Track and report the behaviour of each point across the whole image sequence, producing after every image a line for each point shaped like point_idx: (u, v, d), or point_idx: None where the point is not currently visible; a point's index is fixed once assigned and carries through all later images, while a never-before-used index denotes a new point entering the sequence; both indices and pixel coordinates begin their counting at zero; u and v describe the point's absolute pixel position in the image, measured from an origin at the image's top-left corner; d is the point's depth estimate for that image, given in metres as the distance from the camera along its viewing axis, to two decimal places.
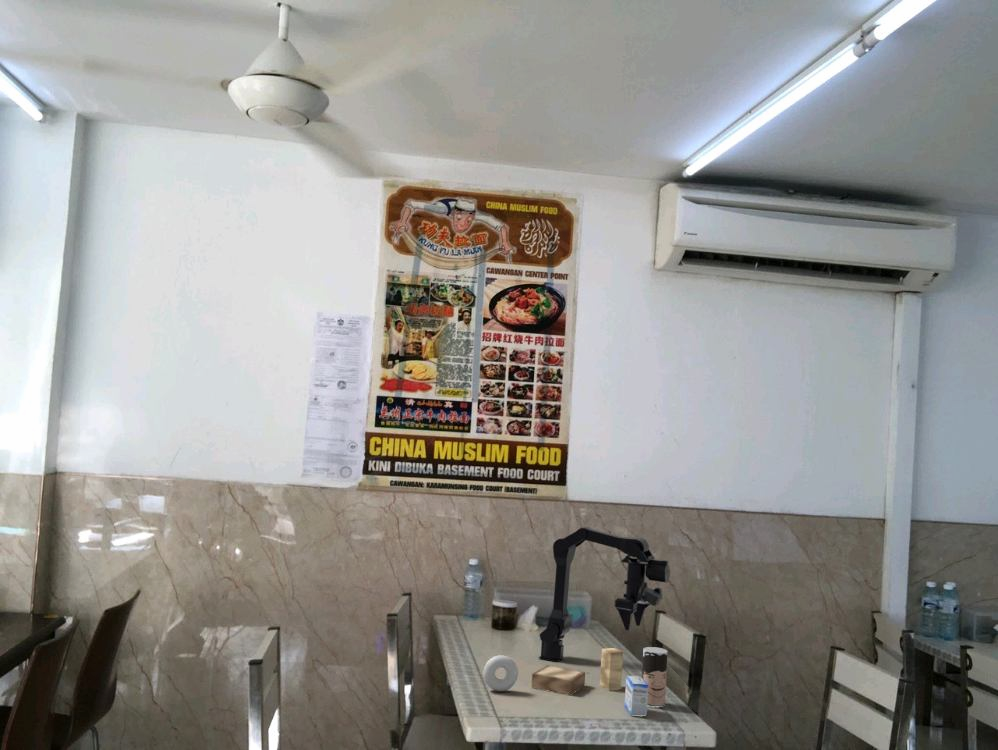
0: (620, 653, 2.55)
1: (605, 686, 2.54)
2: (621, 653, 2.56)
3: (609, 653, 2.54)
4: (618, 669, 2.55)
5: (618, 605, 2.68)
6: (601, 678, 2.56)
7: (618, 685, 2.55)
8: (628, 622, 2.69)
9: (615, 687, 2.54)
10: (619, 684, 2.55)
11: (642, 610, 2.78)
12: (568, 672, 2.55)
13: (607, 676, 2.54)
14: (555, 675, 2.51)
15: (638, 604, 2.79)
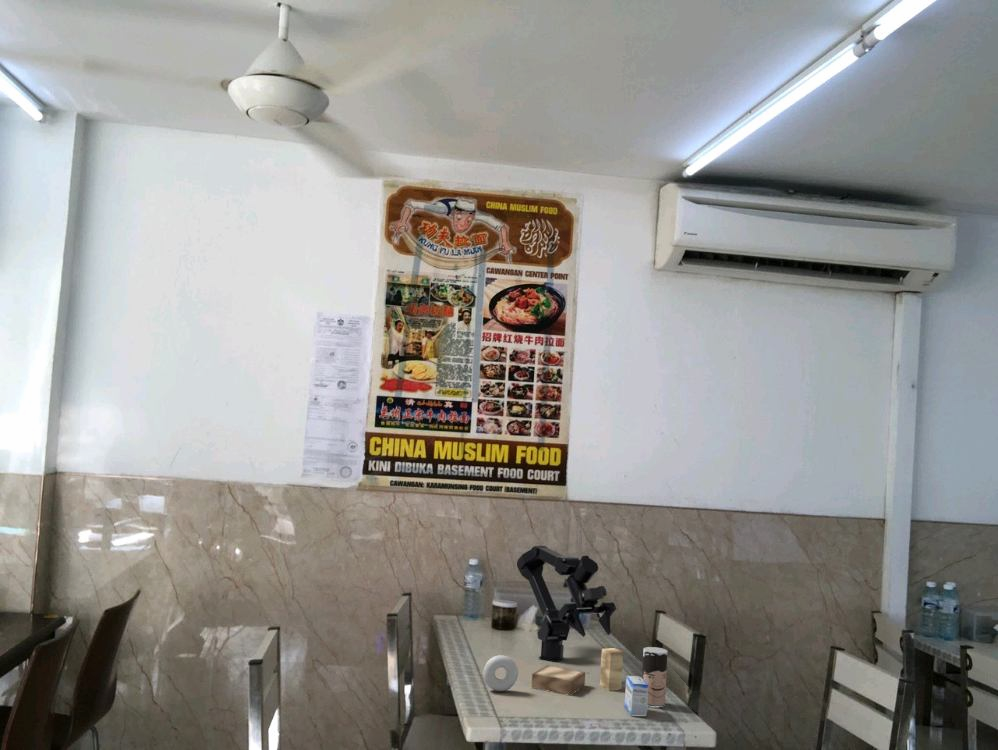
0: (620, 653, 2.55)
1: (605, 686, 2.54)
2: (621, 653, 2.56)
3: (609, 653, 2.54)
4: (618, 669, 2.55)
5: (560, 616, 2.66)
6: (601, 678, 2.56)
7: (618, 685, 2.55)
8: (579, 627, 2.63)
9: (615, 687, 2.54)
10: (619, 684, 2.55)
11: (605, 618, 2.69)
12: (568, 672, 2.55)
13: (607, 676, 2.54)
14: (555, 675, 2.51)
15: (602, 616, 2.72)
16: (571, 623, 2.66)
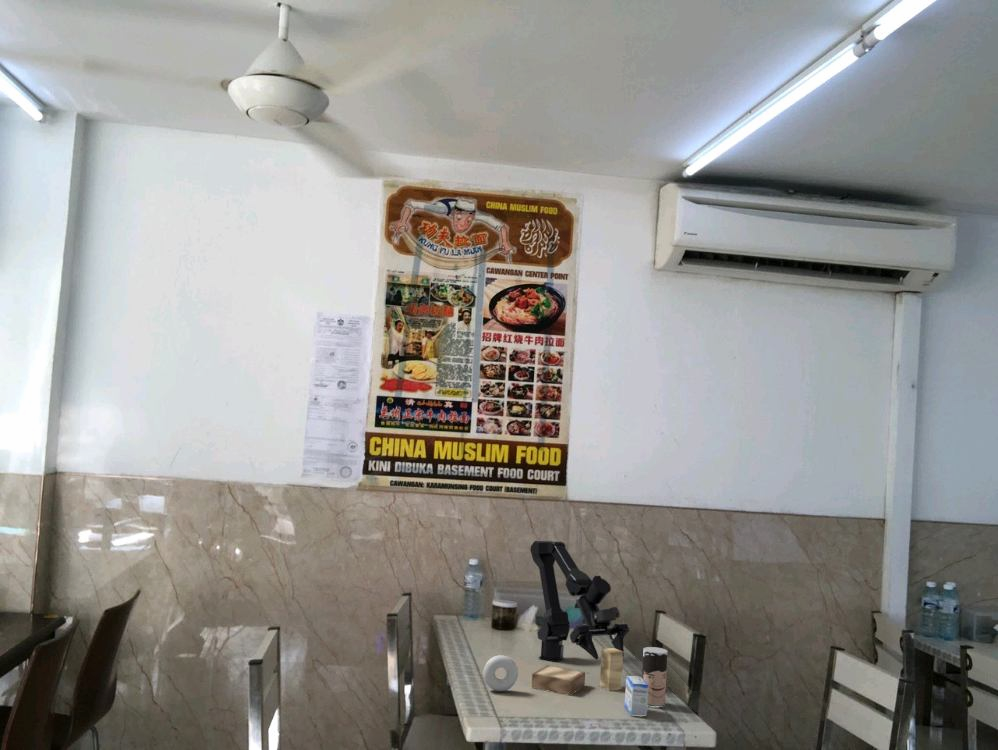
0: (620, 653, 2.55)
1: (605, 686, 2.54)
2: (621, 653, 2.56)
3: (609, 653, 2.54)
4: (618, 669, 2.55)
5: (572, 638, 2.59)
6: (601, 678, 2.56)
7: (618, 685, 2.55)
8: (592, 649, 2.56)
9: (615, 687, 2.54)
10: (619, 684, 2.55)
11: (618, 640, 2.62)
12: (568, 672, 2.55)
13: (607, 676, 2.54)
14: (555, 675, 2.51)
15: (615, 638, 2.65)
16: (583, 645, 2.59)
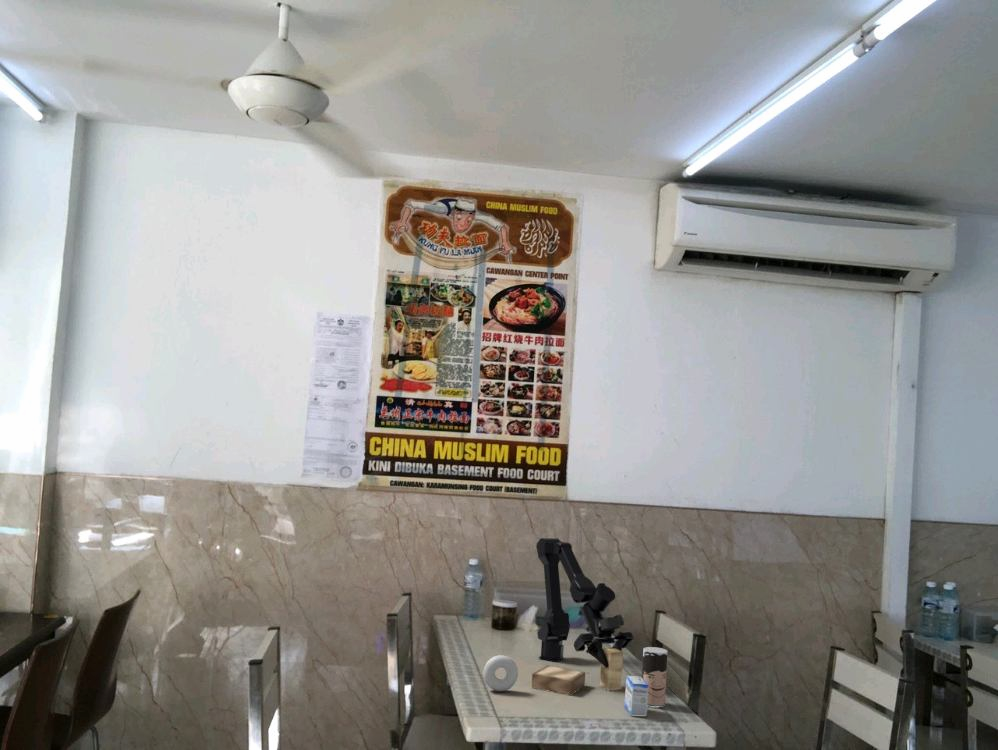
0: (620, 653, 2.55)
1: (605, 686, 2.54)
2: (621, 653, 2.56)
3: (609, 653, 2.54)
4: (618, 669, 2.55)
5: (576, 646, 2.57)
6: (601, 678, 2.56)
7: (618, 685, 2.55)
8: (602, 658, 2.55)
9: (615, 687, 2.54)
10: (619, 684, 2.55)
11: (617, 648, 2.59)
12: (568, 672, 2.55)
13: (607, 676, 2.54)
14: (555, 675, 2.51)
15: (613, 646, 2.61)
16: (593, 653, 2.58)
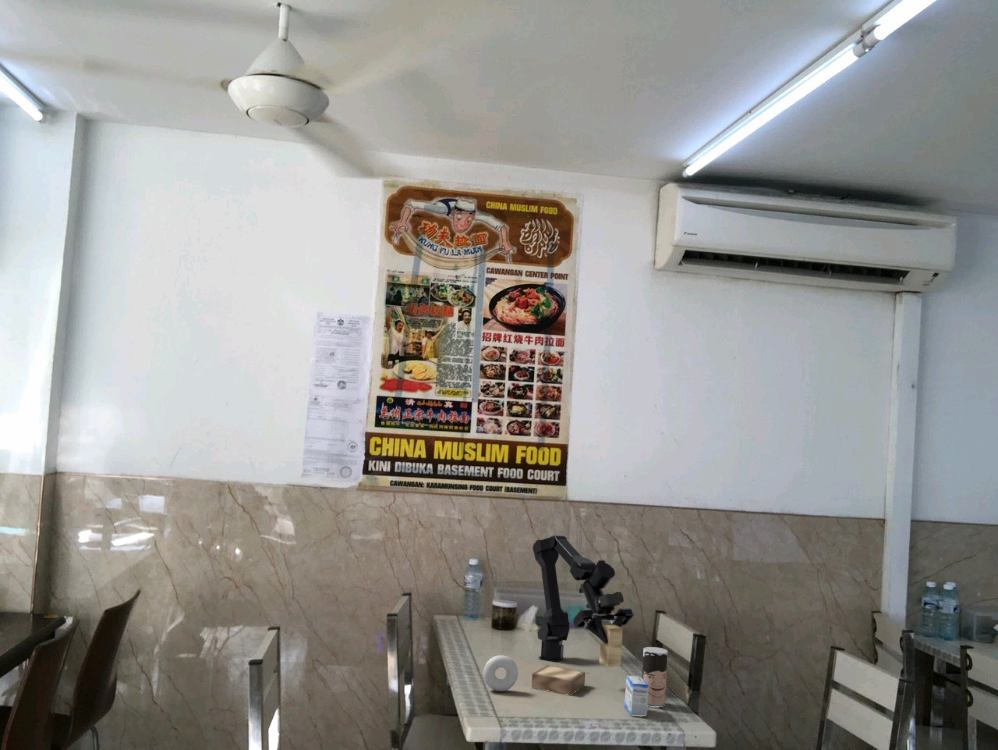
0: (620, 629, 2.56)
1: (604, 662, 2.55)
2: (621, 629, 2.56)
3: (608, 629, 2.54)
4: (618, 645, 2.55)
5: (575, 623, 2.58)
6: (601, 654, 2.57)
7: (618, 661, 2.55)
8: (602, 634, 2.55)
9: (614, 663, 2.54)
10: (619, 660, 2.55)
11: (616, 625, 2.59)
12: (568, 672, 2.55)
13: (606, 652, 2.54)
14: (555, 675, 2.51)
15: (613, 623, 2.62)
16: (593, 630, 2.58)
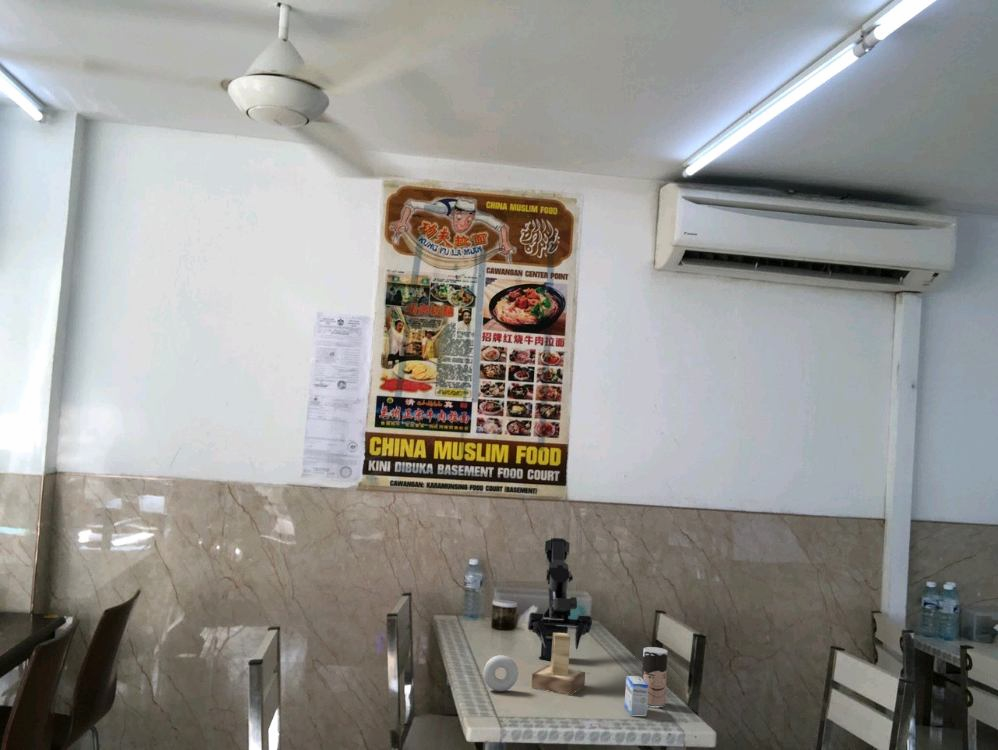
0: (567, 638, 2.52)
1: (552, 670, 2.53)
2: (568, 638, 2.52)
3: (554, 637, 2.53)
4: (564, 654, 2.52)
5: (528, 625, 2.59)
6: (551, 662, 2.55)
7: (564, 670, 2.52)
8: (542, 637, 2.54)
9: (561, 672, 2.52)
10: (566, 669, 2.52)
11: (577, 631, 2.56)
12: (568, 672, 2.55)
13: (552, 659, 2.53)
14: (555, 675, 2.51)
15: (576, 629, 2.59)
16: (538, 633, 2.58)
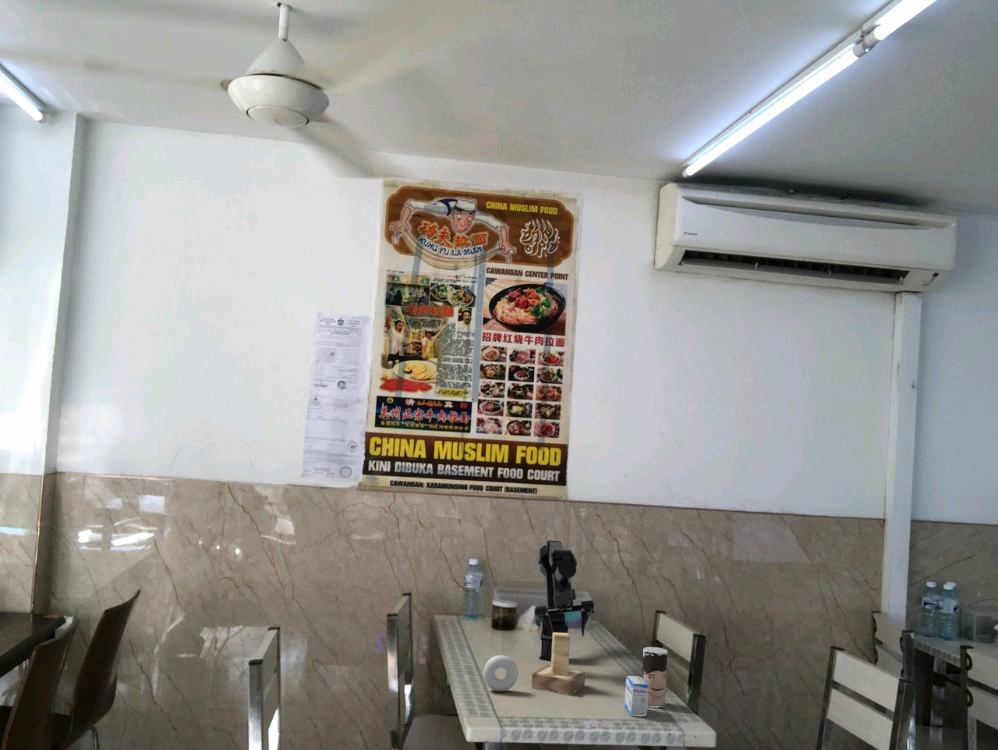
0: (567, 638, 2.52)
1: (552, 670, 2.53)
2: (568, 638, 2.52)
3: (554, 637, 2.53)
4: (564, 654, 2.52)
5: None
6: (551, 662, 2.55)
7: (564, 670, 2.52)
8: (549, 630, 2.68)
9: (561, 672, 2.52)
10: (566, 669, 2.52)
11: (581, 619, 2.67)
12: (568, 672, 2.55)
13: (552, 659, 2.53)
14: (555, 675, 2.51)
15: None
16: None
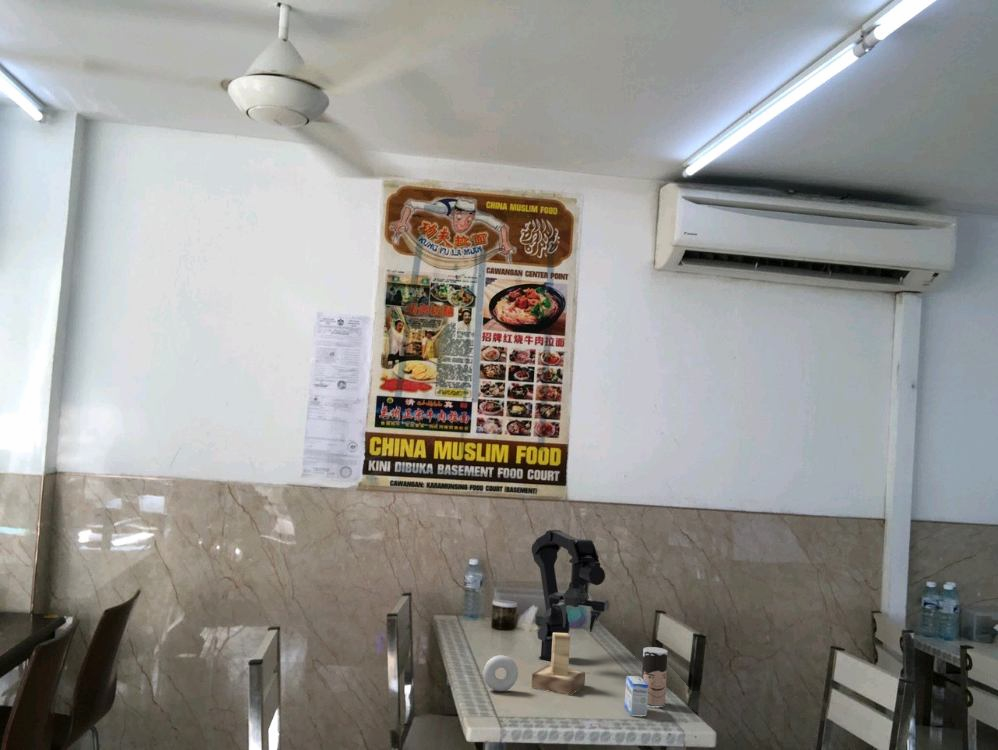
0: (567, 638, 2.52)
1: (552, 670, 2.53)
2: (568, 638, 2.52)
3: (554, 637, 2.53)
4: (564, 654, 2.52)
5: None
6: (551, 662, 2.55)
7: (564, 670, 2.52)
8: None
9: (561, 672, 2.52)
10: (566, 669, 2.52)
11: None
12: (568, 672, 2.55)
13: (552, 659, 2.53)
14: (555, 675, 2.51)
15: None
16: None
